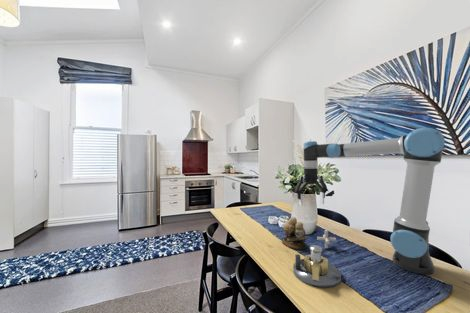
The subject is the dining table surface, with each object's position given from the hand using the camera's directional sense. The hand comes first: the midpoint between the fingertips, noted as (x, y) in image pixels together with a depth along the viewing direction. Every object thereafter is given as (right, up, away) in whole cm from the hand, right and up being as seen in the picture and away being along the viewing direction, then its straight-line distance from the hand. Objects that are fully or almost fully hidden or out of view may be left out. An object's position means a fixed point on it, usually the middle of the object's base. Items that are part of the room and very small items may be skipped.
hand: (311, 204), depth 120 cm
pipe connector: (+9, -25, -1) cm, 27 cm away
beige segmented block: (-8, -23, -27) cm, 36 cm away
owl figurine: (-9, -26, +4) cm, 27 cm away
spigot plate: (-8, -25, -27) cm, 38 cm away
